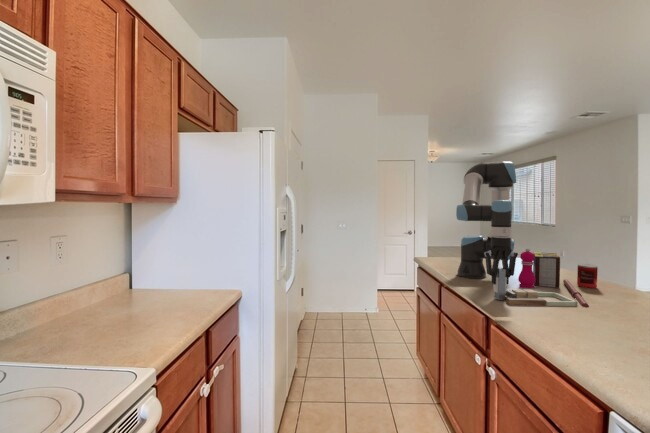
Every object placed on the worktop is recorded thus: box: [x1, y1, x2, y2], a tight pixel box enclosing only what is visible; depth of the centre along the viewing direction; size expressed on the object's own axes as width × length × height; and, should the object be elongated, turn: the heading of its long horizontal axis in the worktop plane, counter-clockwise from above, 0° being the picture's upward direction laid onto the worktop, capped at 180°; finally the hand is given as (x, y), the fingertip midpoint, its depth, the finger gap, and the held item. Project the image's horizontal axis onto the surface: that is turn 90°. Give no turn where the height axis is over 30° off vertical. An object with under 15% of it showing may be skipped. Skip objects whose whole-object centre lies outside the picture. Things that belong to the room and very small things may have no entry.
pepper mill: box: [517, 248, 536, 289], centre depth 155 cm, size 7×7×20 cm
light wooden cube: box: [522, 288, 539, 298], centre depth 133 cm, size 4×4×4 cm
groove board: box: [502, 293, 547, 307], centre depth 134 cm, size 14×14×3 cm
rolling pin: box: [562, 278, 590, 308], centre depth 145 cm, size 45×3×3 cm, turn 150°
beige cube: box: [511, 288, 527, 298], centre depth 134 cm, size 4×4×4 cm
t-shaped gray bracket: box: [494, 267, 517, 301], centre depth 134 cm, size 6×7×13 cm
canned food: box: [576, 263, 599, 290], centre depth 158 cm, size 8×8×11 cm
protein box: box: [532, 251, 561, 289], centre depth 164 cm, size 10×15×16 cm
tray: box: [537, 291, 578, 307], centre depth 133 cm, size 14×12×3 cm
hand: (499, 291), depth 134 cm, fingers closed on t-shaped gray bracket, 3 cm apart
